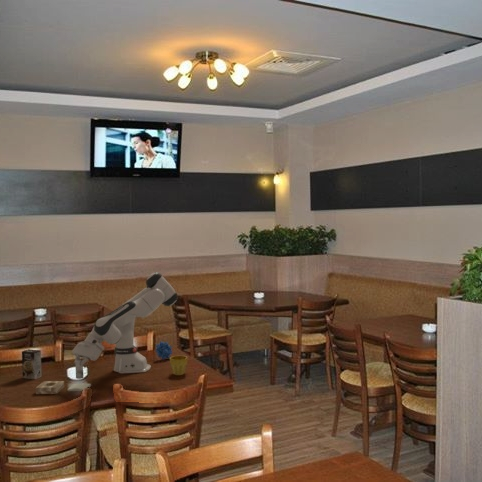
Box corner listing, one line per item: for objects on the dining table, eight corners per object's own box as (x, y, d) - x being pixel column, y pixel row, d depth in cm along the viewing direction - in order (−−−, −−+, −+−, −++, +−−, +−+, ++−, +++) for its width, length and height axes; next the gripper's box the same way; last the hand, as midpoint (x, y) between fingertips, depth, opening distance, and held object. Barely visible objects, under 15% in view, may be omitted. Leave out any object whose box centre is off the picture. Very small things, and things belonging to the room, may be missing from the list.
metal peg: (84, 376, 325) (83, 358, 324) (82, 378, 321) (81, 360, 320) (77, 376, 325) (76, 359, 324) (74, 378, 321) (74, 360, 320)
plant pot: (187, 375, 342) (187, 359, 341) (169, 376, 341) (169, 360, 341) (187, 370, 352) (187, 354, 352) (170, 371, 352) (170, 355, 351)
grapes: (158, 362, 374) (157, 343, 373) (154, 359, 380) (153, 341, 379) (174, 359, 380) (174, 341, 379) (170, 357, 385) (170, 339, 385)
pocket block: (64, 387, 326) (64, 381, 325) (56, 393, 314) (56, 387, 314) (44, 387, 326) (44, 381, 326) (36, 393, 315) (35, 387, 315)
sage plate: (91, 385, 328) (91, 383, 328) (85, 391, 318) (85, 389, 318) (73, 385, 329) (73, 383, 328) (67, 391, 319) (67, 389, 318)
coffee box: (22, 378, 345) (21, 351, 344) (29, 375, 351) (28, 348, 350) (34, 379, 342) (33, 352, 341) (42, 376, 348) (41, 349, 347)
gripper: (77, 337, 334) (63, 358, 327) (99, 342, 320) (85, 363, 313) (84, 343, 337) (71, 364, 330) (106, 348, 324) (92, 369, 317)
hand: (78, 363), depth 322 cm, fingers closed on metal peg, 4 cm apart
